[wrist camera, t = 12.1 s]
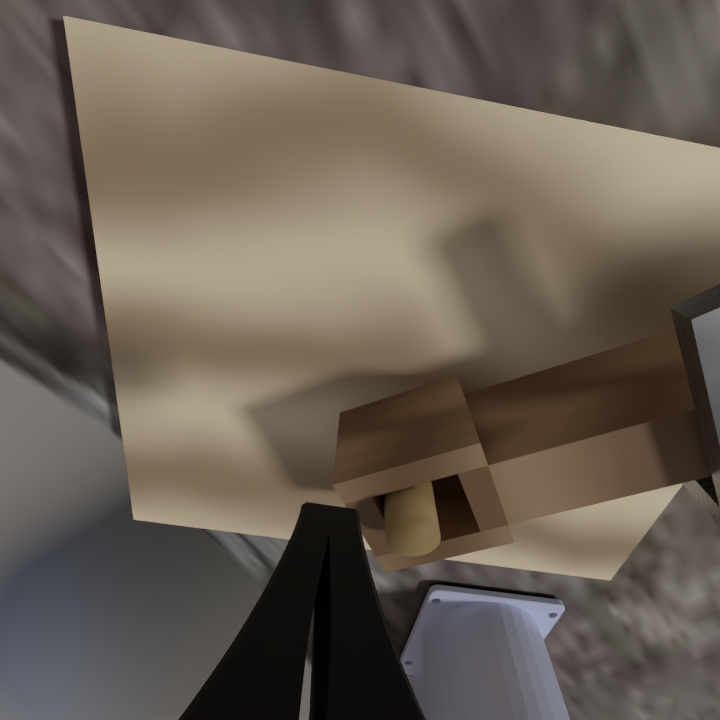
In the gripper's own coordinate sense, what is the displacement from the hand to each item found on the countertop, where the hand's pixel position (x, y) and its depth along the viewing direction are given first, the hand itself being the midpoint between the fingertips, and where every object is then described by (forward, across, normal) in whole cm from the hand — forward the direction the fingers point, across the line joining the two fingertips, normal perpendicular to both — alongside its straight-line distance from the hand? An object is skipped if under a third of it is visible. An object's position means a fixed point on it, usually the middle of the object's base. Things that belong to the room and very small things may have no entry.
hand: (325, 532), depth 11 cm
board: (+8, -4, 0) cm, 9 cm away
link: (+7, -8, 0) cm, 10 cm away
